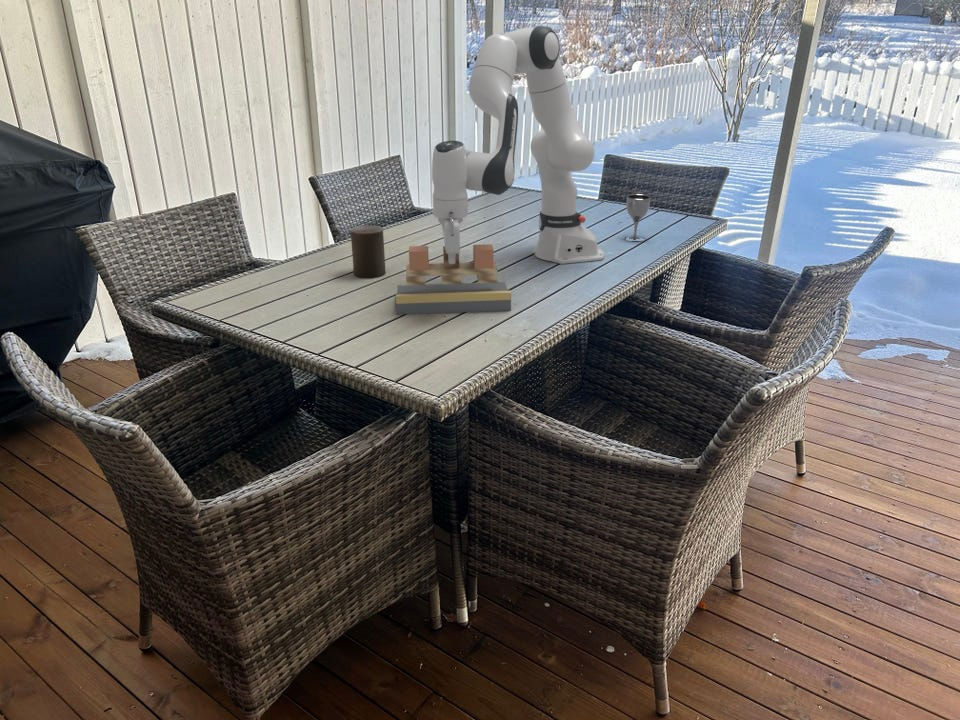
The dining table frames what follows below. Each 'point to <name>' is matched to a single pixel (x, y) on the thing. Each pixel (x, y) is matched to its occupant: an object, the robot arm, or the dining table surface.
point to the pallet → (451, 272)
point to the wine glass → (637, 209)
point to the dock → (452, 298)
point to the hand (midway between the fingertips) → (451, 260)
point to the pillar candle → (368, 251)
